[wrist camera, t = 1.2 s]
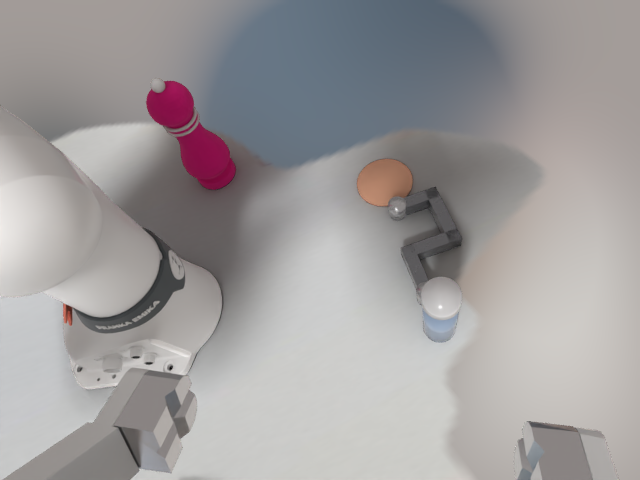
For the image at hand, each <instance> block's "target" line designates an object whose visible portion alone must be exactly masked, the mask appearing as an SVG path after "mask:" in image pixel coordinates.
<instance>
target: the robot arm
mask: <svg viewBox="0 0 640 480" xmlns="http://www.w3.org/2000/svg"><path fill="white" fill-rule="evenodd" d="M40 292H42V293H44V294H46V295H48V296H50V297H52V298H54V299H56V300H58V301H60V302H62V303H63V317H64V319H63V334H64V342H65V347H66V350H67V353H68V355H69V357H70V364H71V368H72V372H73V375H74V377H75V379H76V381H77V382H78V383H79V385H80V386H81V387H83V388H85V389H97V388H104V387H112V386H116V388H115V389H114V391H113V393H112V394H111V396H110V397H109V399H108V400H107V402H106V403H105V405H104V407H103V408H102V410H101V411H100V413H99V414H98V416H97V417H96V419H95V421H94V422H93V423H86V424H85V425H83V426H82V427H80V428H79V429H77V430H76V431H74V432H73V433H71V434H70V435H68V436H67V437H65V438H64V439H62V440H61V441H59V442H58V443H56V444H55V445H53V446H52V447H50V448H49V449H47V450H46V451H44V452H43V453H41V454H40V455H38V456H37V457H35V458H34V459H32V460H31V461H29V462H28V463H27V464H25V465H24V466H22V467H21V468H19V469H18V470H16V471H15V472H13V473H12V474H10V475H9V476H7V477H6V478H4V479H3V480H130V479H131V478H132V477H133V476H135V475H136V474H137V473H138V472H139V469H145V470H152V471H159V472H166V473H172V470H173V468H174V466H175V464H176V461H177V459H178V457H179V455H180V453H181V450H182V448H183V447H182V443H181V438H182V437H183V436H185V435H186V434H187V433H189V432H190V430H191V428H192V425H193V423H194V421H195V416H196V411H197V400H196V396H195V394H194V393H192V392H191V391H190V390H189V388H190V386H191V384H192V383H191V381H190V378H189V376H187V375H186V374H187V373H188V371H189V370H190V368H191V366H192V363H193V361H194V358H195V356H196V354H197V352H198V351H199V350H200V348H201V347H202V346H203V345H204V344H205V343H206V341H207V340H208V339H209V338H210V336H211V335H212V333H213V332H214V330H215V328H216V326H217V324H218V321H219V318H220V315H221V310H222V295H221V290H220V287H219V284H218V282H217V281H216V279H215V278H214V276H213V275H212V274H211V273H210V272H209V271H207V270H206V269H204V268H202V267H200V266H197V265H195V264H192V263H189V262H187V261H185V260H183V259H181V258H180V257H178V256H177V255H176V254H175V252H174V251H173V250H172V249H171V248H170V247H169V246H168V245H167V244H165V243H164V242H163V241H162V240H161V239H160V238H158V237H157V236H156V235H155V234H153V233H152V232H151V231H149V230H147V229H145V228H142V227H141V226H139V225H138V224H137V223H136V222H135V221H134V220H133V219H132V218H130V217H129V216H128V215H127V214H126V213H125V212H124V211H123V210H122V209H120V208H119V207H118V206H117V205H116V204H115V203H114V202H113V201H112V200H111V199H110V198H109V197H108V196H107V195H106V194H105V193H104V192H103V191H102V190H101V189H100V188H99V187H98V186H97V185H96V184H95V183H94V182H93V181H92V180H91V179H90V178H89V177H88V176H87V175H86V174H85V173H84V172H83V171H82V170H81V169H80V168H78V167H77V166H76V165H75V164H74V163H73V162H72V161H71V160H70V159H69V158H68V157H67V156H66V155H65V154H64V153H62V152H61V151H60V150H59V149H58V148H56V147H55V146H54V145H52V144H51V143H50V142H49V141H47V140H46V139H45V138H44V137H42V136H41V135H40V134H39V133H37V132H36V131H35V130H34V129H32V128H31V127H30V126H29V125H27V124H26V123H25V122H23V121H22V120H21V119H20V118H18V117H17V116H15V115H13V114H11V113H10V112H9V111H7V110H6V109H5V108H4V107H2V106H1V105H0V297H22V296H28V295H33V294H36V293H40ZM172 365H173V369H172V370H171V371H170V367H171V366H172ZM81 368H82V371H81V372H80V369H81ZM522 433H523V438H522V439H520V440H518V441H517V444H516V447H515V453H514V472H515V479H516V480H619V477H618V474H617V471H616V469H615V466H614V463H613V460H612V457H611V454H610V451H609V448H608V445H607V442H606V439H605V437H604V435H603V434H602V433H601V432H600V431H598V430H592V429H584V428H576V427H573V426H564V425H556V424H548V423H539V422H531V421H527V422H526V423H525V424H524V426H523V428H522Z"/></svg>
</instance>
